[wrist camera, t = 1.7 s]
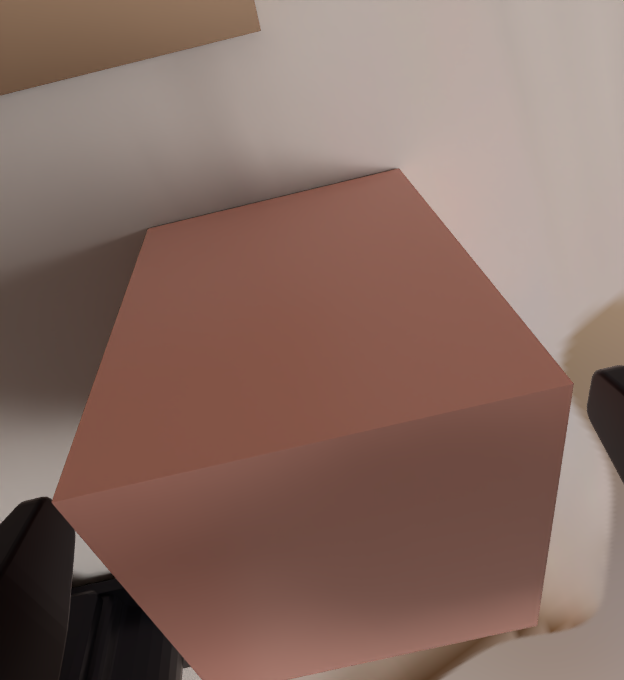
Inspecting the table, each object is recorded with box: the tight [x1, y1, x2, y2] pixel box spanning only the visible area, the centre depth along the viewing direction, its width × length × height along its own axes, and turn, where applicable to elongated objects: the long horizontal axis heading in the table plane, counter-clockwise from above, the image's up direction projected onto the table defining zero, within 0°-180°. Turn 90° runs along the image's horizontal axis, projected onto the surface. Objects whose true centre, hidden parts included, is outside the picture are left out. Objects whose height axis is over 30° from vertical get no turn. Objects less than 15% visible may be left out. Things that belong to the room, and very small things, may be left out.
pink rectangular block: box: [51, 169, 574, 680], centre depth 9 cm, size 5×5×7 cm
